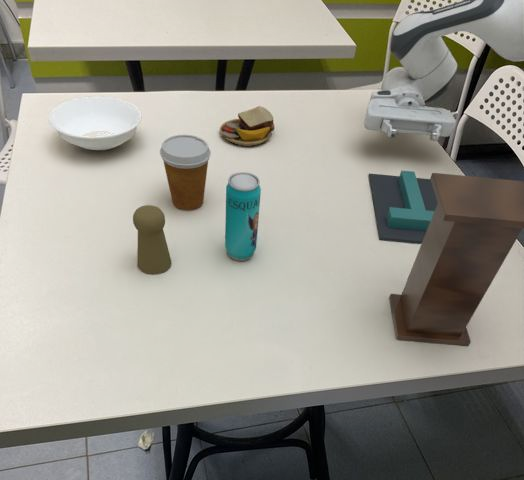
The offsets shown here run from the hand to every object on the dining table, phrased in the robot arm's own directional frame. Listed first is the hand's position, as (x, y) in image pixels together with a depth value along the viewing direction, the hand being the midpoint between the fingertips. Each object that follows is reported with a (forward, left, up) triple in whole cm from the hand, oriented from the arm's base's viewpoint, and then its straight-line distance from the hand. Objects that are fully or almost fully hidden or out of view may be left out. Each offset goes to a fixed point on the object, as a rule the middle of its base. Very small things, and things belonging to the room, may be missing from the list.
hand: (413, 136), depth 108 cm
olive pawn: (+50, +39, -9) cm, 64 cm away
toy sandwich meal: (+37, -12, -9) cm, 40 cm away
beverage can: (+35, +34, -9) cm, 50 cm away
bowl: (+70, -1, -9) cm, 71 cm away
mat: (0, +14, -9) cm, 17 cm away
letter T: (0, +13, -8) cm, 16 cm away
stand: (+2, +48, -9) cm, 49 cm away
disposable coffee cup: (+47, +19, -9) cm, 52 cm away
